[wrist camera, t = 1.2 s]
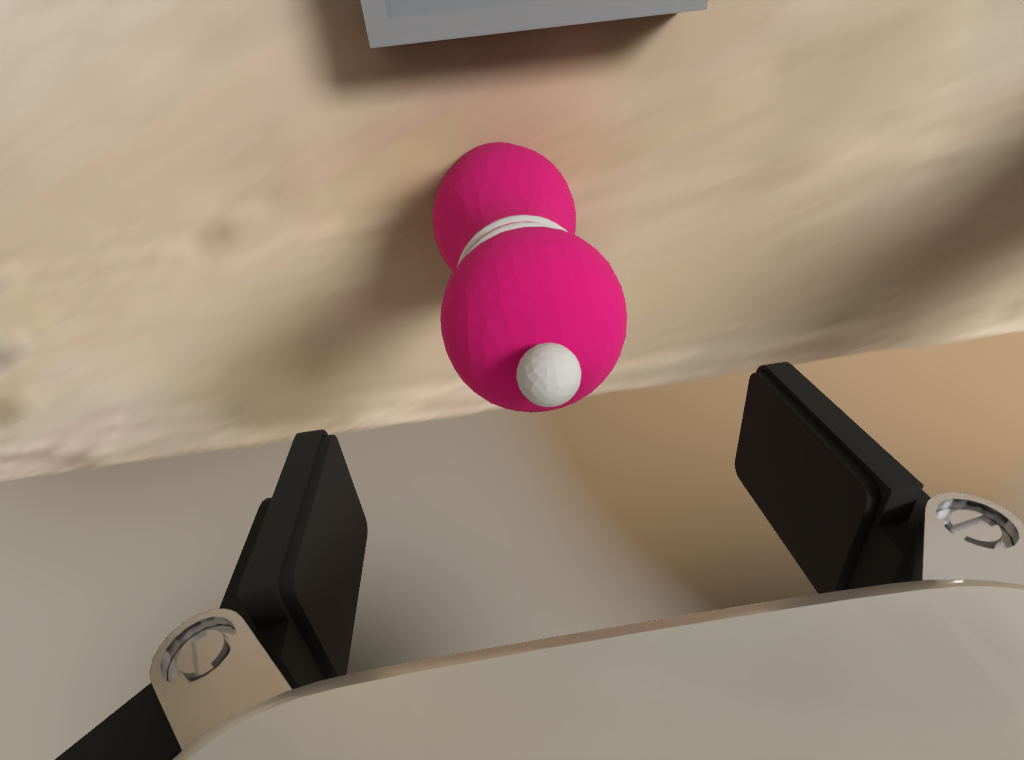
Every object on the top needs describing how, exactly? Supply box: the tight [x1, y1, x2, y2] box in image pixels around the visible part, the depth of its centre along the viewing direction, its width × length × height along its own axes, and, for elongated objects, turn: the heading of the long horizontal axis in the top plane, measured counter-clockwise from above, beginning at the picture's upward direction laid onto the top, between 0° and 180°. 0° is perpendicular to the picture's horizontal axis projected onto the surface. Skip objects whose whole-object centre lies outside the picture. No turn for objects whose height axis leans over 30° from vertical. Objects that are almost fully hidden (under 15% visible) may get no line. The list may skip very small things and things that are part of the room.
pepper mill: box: [433, 142, 627, 412], centre depth 22 cm, size 7×7×20 cm
